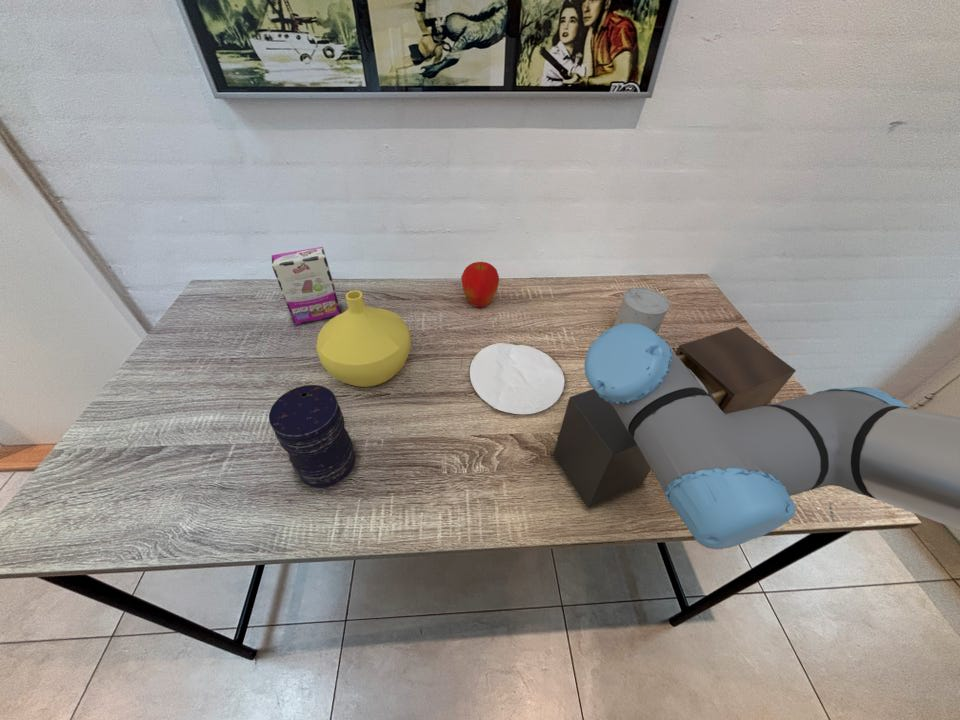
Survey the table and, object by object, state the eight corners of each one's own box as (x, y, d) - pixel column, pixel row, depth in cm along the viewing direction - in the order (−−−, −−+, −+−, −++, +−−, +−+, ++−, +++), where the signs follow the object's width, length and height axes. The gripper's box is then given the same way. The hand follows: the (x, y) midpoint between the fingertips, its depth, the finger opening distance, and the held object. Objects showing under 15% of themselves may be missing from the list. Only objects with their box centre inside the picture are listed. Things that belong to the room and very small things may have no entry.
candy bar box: (339, 304, 103) (323, 245, 92) (342, 316, 100) (326, 256, 88) (292, 313, 100) (270, 253, 89) (294, 326, 97) (271, 265, 85)
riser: (641, 485, 70) (675, 429, 58) (587, 508, 66) (613, 454, 55) (603, 435, 77) (627, 377, 66) (553, 454, 73) (569, 396, 62)
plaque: (453, 361, 89) (453, 357, 88) (528, 335, 97) (529, 330, 96) (500, 431, 78) (501, 427, 76) (582, 395, 85) (583, 390, 84)
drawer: (656, 444, 74) (672, 417, 69) (614, 395, 83) (625, 368, 77) (736, 412, 80) (756, 385, 75) (689, 369, 89) (704, 342, 83)
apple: (495, 292, 109) (498, 252, 100) (499, 313, 102) (502, 272, 94) (460, 293, 108) (460, 252, 100) (462, 314, 102) (462, 273, 93)
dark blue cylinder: (357, 482, 68) (338, 429, 58) (296, 495, 66) (264, 443, 56) (354, 434, 75) (337, 379, 65) (298, 445, 73) (271, 390, 63)
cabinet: (711, 427, 79) (735, 394, 72) (662, 378, 88) (679, 345, 81) (769, 403, 84) (796, 370, 77) (717, 359, 92) (737, 326, 86)
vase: (415, 339, 95) (407, 267, 81) (411, 399, 82) (401, 326, 68) (334, 341, 93) (313, 268, 80) (318, 403, 80) (288, 328, 67)
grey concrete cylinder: (642, 329, 100) (659, 286, 91) (657, 356, 93) (677, 313, 84) (604, 330, 99) (617, 287, 90) (616, 357, 92) (632, 314, 84)
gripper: (594, 354, 56) (651, 400, 70) (723, 525, 39) (764, 541, 53) (638, 317, 54) (689, 373, 68) (796, 483, 37) (820, 511, 51)
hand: (722, 447), depth 61 cm, fingers open, 13 cm apart
